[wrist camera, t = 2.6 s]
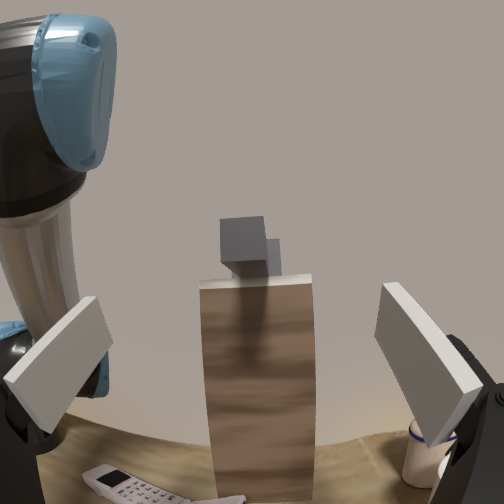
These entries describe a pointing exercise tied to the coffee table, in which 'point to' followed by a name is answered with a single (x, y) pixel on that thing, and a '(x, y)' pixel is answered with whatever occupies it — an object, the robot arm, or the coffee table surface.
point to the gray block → (249, 248)
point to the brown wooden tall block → (260, 385)
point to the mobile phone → (138, 489)
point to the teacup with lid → (423, 458)
